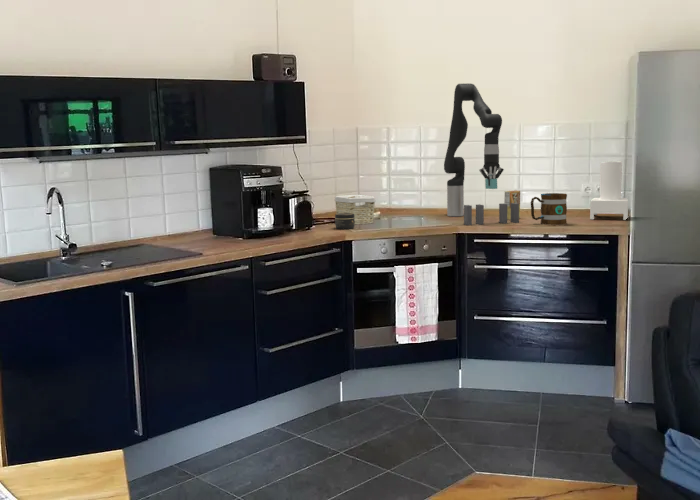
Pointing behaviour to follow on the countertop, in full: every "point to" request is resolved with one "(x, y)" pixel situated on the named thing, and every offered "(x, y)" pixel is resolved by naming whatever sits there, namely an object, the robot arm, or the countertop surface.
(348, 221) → the jar
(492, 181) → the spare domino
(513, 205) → the domino
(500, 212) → the domino
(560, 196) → the mug
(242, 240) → the countertop surface
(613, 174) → the paper towel holder
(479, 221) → the domino
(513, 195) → the candy box
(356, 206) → the storage basket
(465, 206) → the domino
